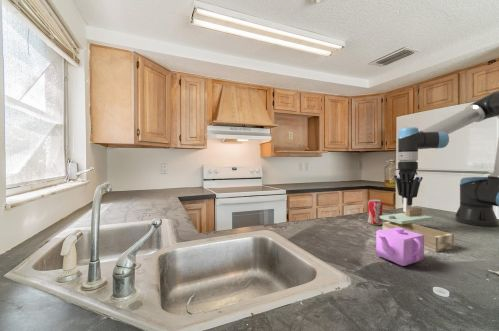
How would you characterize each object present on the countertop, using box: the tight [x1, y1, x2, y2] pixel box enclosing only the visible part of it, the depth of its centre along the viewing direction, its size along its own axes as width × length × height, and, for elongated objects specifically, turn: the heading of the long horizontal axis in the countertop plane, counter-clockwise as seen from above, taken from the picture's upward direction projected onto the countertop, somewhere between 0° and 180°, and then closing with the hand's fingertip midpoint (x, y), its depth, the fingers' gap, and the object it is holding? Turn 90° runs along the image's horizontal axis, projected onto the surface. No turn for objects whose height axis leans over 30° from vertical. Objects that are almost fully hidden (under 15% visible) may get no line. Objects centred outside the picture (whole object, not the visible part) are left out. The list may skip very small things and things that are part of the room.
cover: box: [380, 207, 434, 224], centre depth 98 cm, size 20×10×4 cm, turn 110°
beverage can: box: [367, 198, 383, 226], centre depth 109 cm, size 6×6×12 cm
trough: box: [381, 221, 455, 253], centre depth 86 cm, size 10×20×5 cm, turn 20°
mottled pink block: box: [375, 228, 425, 267], centre depth 70 cm, size 18×14×10 cm
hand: (407, 211), depth 102 cm, fingers closed
